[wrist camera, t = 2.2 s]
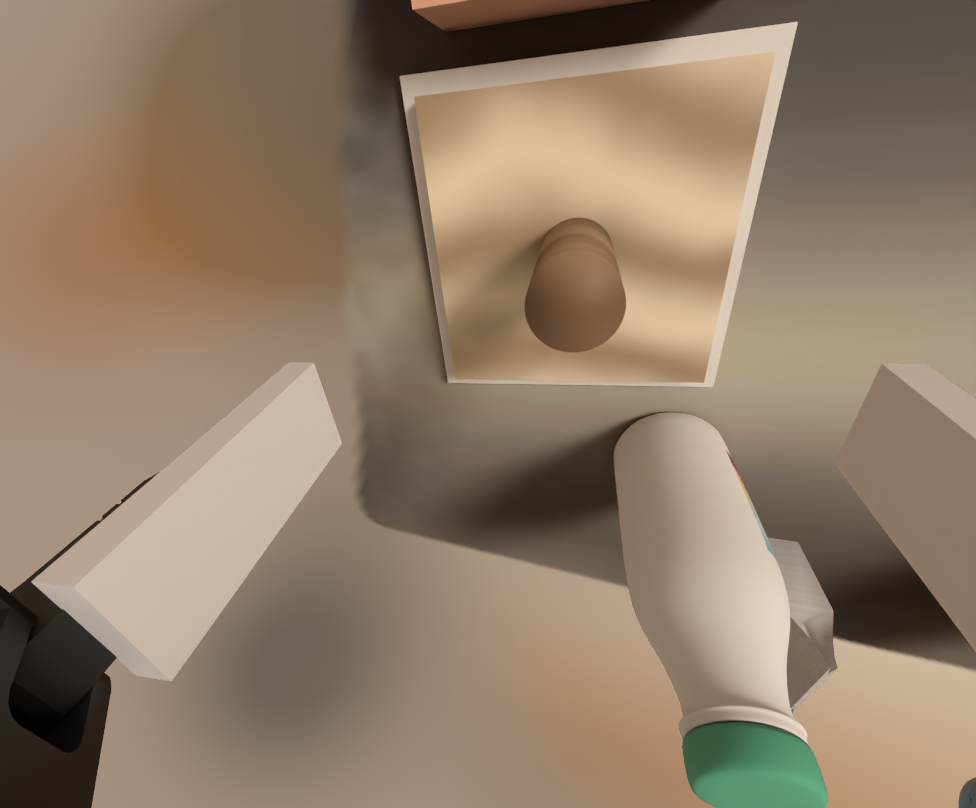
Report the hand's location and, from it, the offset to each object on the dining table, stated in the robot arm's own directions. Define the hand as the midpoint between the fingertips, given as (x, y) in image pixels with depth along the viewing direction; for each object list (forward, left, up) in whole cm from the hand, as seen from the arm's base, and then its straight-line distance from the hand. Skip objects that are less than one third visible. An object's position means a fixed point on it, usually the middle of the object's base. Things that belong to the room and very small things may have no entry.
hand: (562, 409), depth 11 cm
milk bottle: (-15, -7, -18) cm, 24 cm away
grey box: (-27, -16, -18) cm, 36 cm away
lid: (0, 0, -17) cm, 17 cm away
